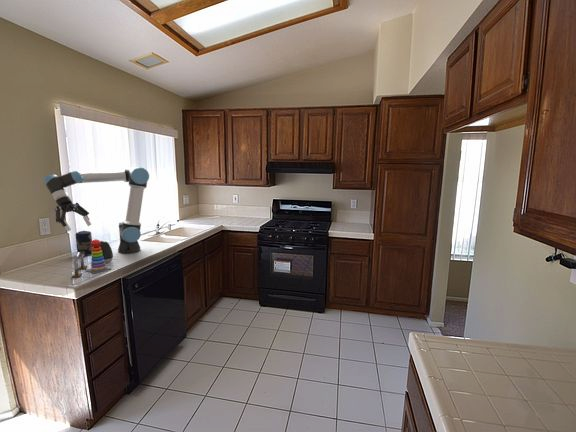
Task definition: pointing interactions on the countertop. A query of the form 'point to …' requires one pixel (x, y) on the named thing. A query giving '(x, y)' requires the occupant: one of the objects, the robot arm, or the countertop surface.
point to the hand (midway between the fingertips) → (79, 227)
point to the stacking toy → (97, 256)
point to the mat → (97, 271)
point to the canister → (84, 242)
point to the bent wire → (77, 265)
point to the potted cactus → (106, 251)
